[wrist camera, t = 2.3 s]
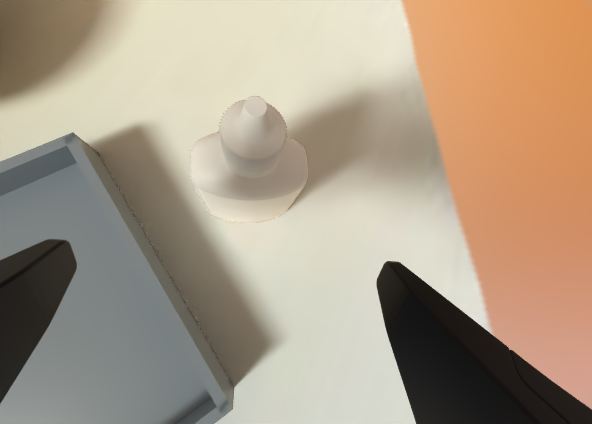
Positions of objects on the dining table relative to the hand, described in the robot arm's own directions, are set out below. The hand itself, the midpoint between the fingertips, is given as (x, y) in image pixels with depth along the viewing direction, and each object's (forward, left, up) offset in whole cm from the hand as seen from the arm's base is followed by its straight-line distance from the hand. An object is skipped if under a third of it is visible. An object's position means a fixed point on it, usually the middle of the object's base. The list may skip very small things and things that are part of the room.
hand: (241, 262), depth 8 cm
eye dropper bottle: (+4, -3, -11) cm, 12 cm away
